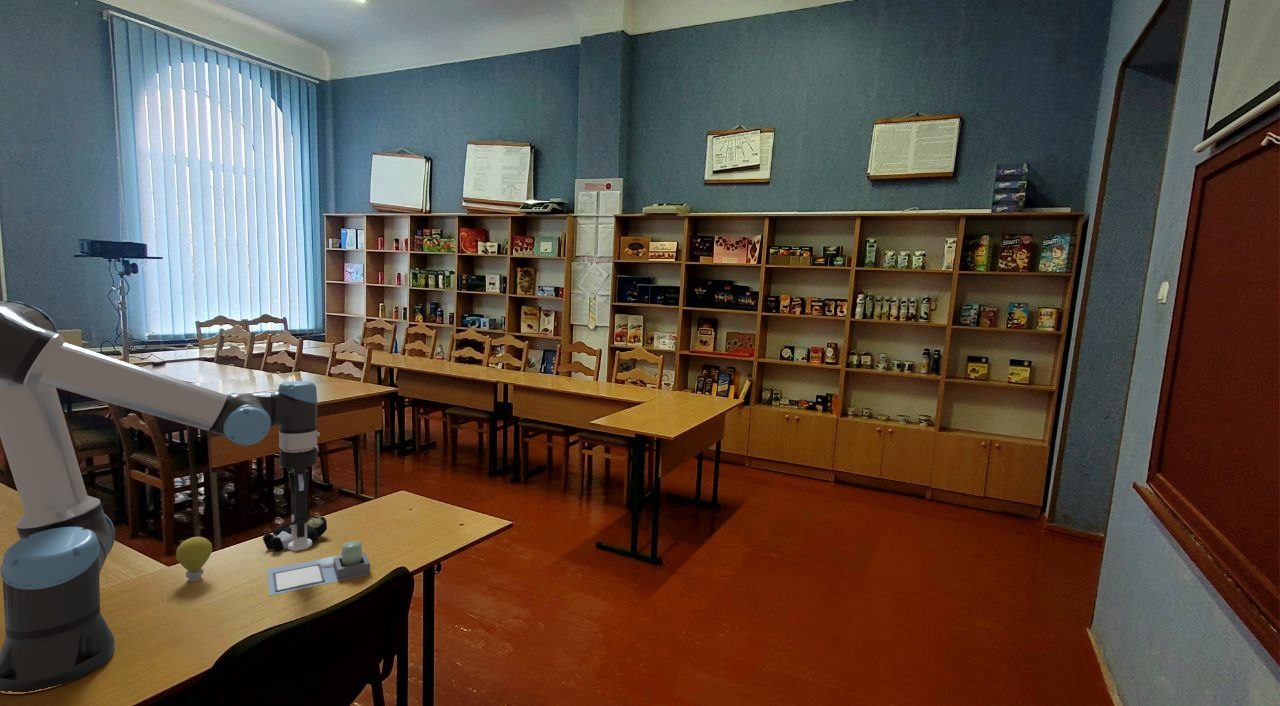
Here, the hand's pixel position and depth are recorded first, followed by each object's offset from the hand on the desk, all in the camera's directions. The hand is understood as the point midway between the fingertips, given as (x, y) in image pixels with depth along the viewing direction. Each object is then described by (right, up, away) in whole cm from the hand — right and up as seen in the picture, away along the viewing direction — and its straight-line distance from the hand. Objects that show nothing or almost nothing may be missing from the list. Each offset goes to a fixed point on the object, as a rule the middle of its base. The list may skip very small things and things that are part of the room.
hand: (299, 544), depth 133 cm
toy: (-13, -7, +20) cm, 25 cm away
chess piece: (0, -1, 0) cm, 1 cm away
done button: (+10, -6, +5) cm, 13 cm away
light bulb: (-24, -8, -1) cm, 25 cm away
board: (+2, -9, +4) cm, 10 cm away
